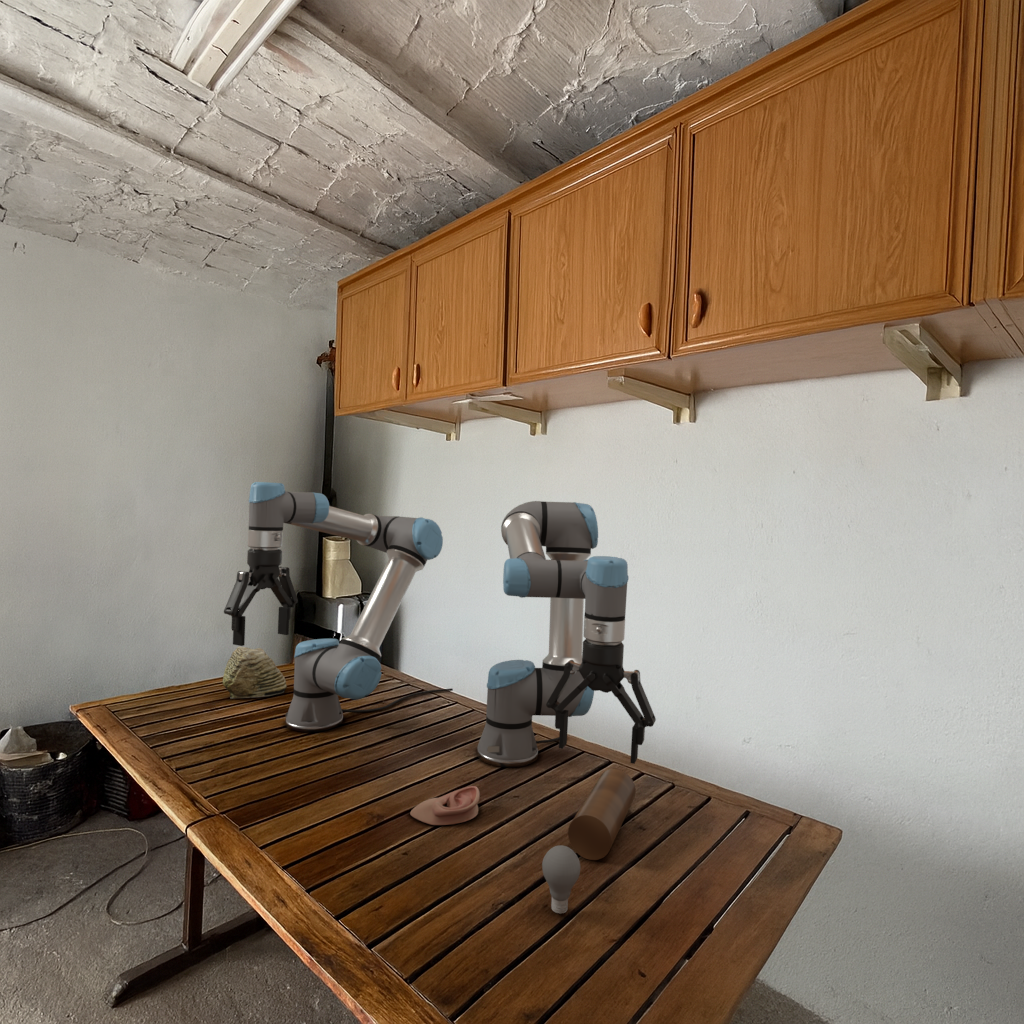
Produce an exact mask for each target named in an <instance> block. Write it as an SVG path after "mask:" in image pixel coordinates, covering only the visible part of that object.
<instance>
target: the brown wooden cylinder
mask: <svg viewBox="0 0 1024 1024" xmlns="http://www.w3.org/2000/svg"><path fill="white" fill-rule="evenodd" d="M636 794H637V793H636V785H635V782H634V780H633V779H632V777H631V776H630V775H629V774H628V773H627V772H625V771H623V770H621V769H618V768H609V769H606V770H605V771H604V772H602V774H600V776H599V778H598V780H597V781H596V783H595V784H594V786H593V787H592V788H591V790H590V791H589V793H588V795H587V796H586V798H585V800H584V801H583V802H582V804H581V806H580V808H579V809H578V811H577V812H576V814H575V815H574V817H573V819H571V821H570V824H569V826H568V828H567V829H568V830H567V837H568V841H569V844H570V846H571V848H572V850H573V851H574V852H575V853H576V854H577V855H579V856H580V857H582V858H583V859H586V860H589V861H599V860H601V859H604V858H605V857H606V856H607V855H608V854H609V852H610V851H611V849H612V846H613V844H614V842H615V840H616V838H617V836H618V834H619V832H620V829H621V827H622V826H623V823H624V821H625V818H626V817H627V815H628V813H629V811H630V808H631V807H632V804H633V802H634V801H635V798H636Z"/></svg>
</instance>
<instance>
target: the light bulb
mask: <svg viewBox="0 0 1024 1024" xmlns="http://www.w3.org/2000/svg"><path fill="white" fill-rule="evenodd" d="M541 868H542V869H541V870H542V874H543V877H544V879H545V881H546V883H547V885H548V888H549V894H550V896H551V903H550V905H551V906H550V909H551V910H552V911H553V912H554V913H556V914H564V913H566V912H568V908H569V907H568V905H569V898H570V896H571V892H572V889H573V887H574V886H575V885H576V883H577V881H578V880H579V877H580V874H581V861H580V859H579V857H578V854H577V853H576V851H575V850H574V849H573V848H572V849H571V847H569V846H566V845H561V844H560V845H555V846H553V847H551V848H550V849H549V850H548V851H547V852H546V853H545V855H544V856H543V859H542V864H541Z"/></svg>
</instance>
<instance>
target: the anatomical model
mask: <svg viewBox="0 0 1024 1024" xmlns="http://www.w3.org/2000/svg"><path fill="white" fill-rule="evenodd" d="M480 794H481V793H480V789H479V788H478V786H475V785H471V786H465V787H462V788H459V789H456V790H454V791H451V792H449V793H447V794H444V795H442V796H439V797H432V798H429V799H426V800H424V801H422V802H420V803H419V804H417V805H415V806H414V808H412V809H411V811H410V812H409V814H410V816H411V817H412V818H414V819H415V820H417V821H419V822H422V823H425V824H427V825H431V826H446V825H456V824H460V823H465V822H468V821H470V820H472V819H474V818H476V817H477V816H478V814H479V805H478V803H479V801H480V796H481V795H480Z"/></svg>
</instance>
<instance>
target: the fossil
mask: <svg viewBox="0 0 1024 1024" xmlns="http://www.w3.org/2000/svg"><path fill="white" fill-rule="evenodd" d="M222 676H223V677H222V685H223V687H224V688H225V690H226V691H228V693H229V698H230V699H250V698H264V697H271V696H275V695H281V694H284V693H285V691H286V689H287V687H288V686H287V680H286V678H285V676H284V674H283V673H282V672H281V669H279V668H278V667H277V665H276V663H275V662H274V660H273V659H272V658H271V657H270V656H269V655H268V654H267V653H266V652H265V650H264V649H263V648H260V647H258V648H251V647H247V646H246V647H245V646H238V647H237V648H236V649H235V650H233V651H232V653H231V656H230V657H229V659H228V660H227V663H226V666H225V668H224V671H223V675H222Z"/></svg>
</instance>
